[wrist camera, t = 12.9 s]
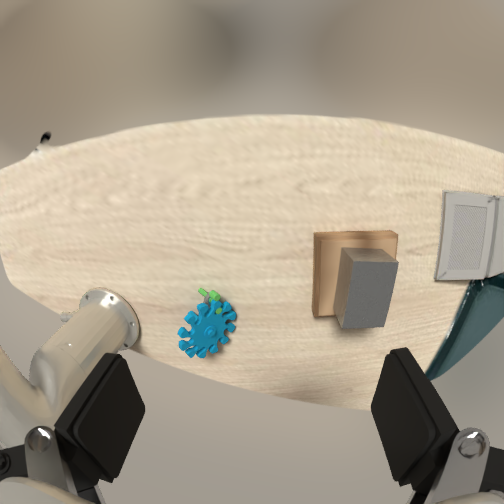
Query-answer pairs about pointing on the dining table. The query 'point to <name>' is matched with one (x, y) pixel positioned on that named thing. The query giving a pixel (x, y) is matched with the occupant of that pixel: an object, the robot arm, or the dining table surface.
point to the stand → (329, 259)
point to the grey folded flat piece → (470, 236)
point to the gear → (207, 325)
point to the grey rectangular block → (364, 287)
